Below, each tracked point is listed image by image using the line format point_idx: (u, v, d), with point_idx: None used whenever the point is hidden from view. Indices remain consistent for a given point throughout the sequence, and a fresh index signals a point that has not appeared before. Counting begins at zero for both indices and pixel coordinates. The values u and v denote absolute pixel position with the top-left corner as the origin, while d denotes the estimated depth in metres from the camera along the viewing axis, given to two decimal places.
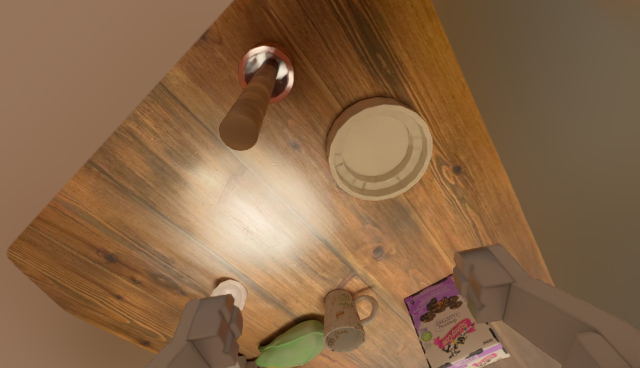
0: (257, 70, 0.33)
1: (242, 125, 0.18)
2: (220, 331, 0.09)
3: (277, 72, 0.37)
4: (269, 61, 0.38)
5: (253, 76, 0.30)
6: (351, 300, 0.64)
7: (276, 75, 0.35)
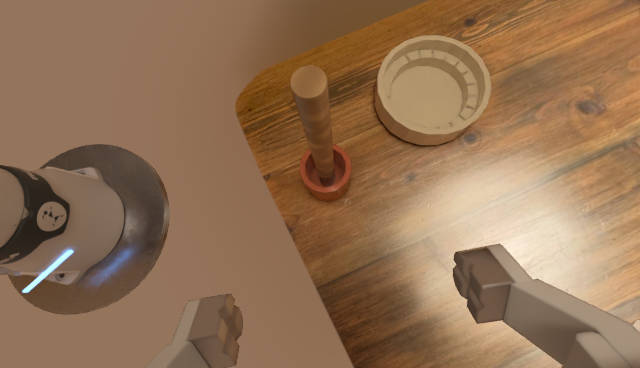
0: None
1: (302, 76, 0.19)
2: (220, 331, 0.09)
3: None
4: None
5: None
6: None
7: None
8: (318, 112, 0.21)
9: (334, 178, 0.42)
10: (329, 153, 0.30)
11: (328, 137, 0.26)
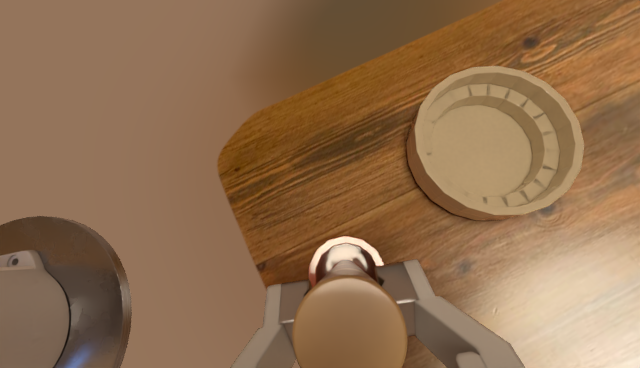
0: None
1: (327, 315, 0.06)
2: None
3: (348, 260, 0.27)
4: None
5: None
6: None
7: None
8: None
9: None
10: None
11: None
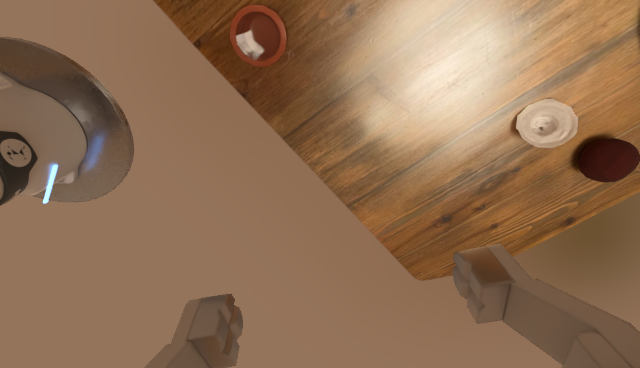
0: None
1: None
2: (220, 331, 0.09)
3: None
4: None
5: None
6: None
7: None
8: None
9: None
10: None
11: None
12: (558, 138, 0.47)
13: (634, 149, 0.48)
